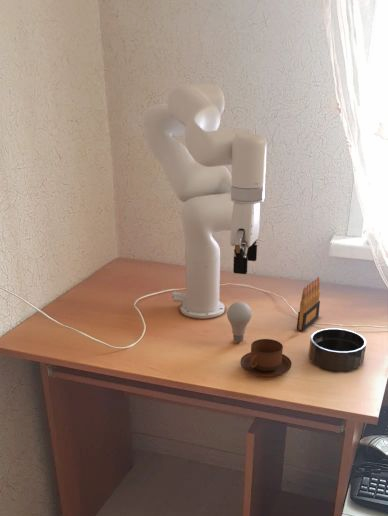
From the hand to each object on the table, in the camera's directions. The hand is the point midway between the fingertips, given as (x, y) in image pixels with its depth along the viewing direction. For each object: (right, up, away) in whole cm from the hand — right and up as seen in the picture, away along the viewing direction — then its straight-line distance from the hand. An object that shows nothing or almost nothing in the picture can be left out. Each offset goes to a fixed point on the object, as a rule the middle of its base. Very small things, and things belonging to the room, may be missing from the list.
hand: (245, 266), depth 151 cm
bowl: (+22, -22, +2) cm, 32 cm away
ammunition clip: (+19, -12, +20) cm, 29 cm away
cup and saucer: (+5, -25, -2) cm, 25 cm away
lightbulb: (-1, -18, +10) cm, 20 cm away
